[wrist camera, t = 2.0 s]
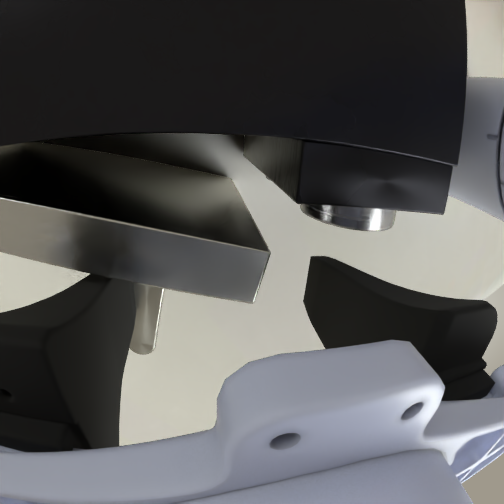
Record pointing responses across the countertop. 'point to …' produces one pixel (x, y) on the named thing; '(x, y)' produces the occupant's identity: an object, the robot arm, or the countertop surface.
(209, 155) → the countertop surface
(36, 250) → the microwave door
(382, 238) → the countertop surface
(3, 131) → the microwave
